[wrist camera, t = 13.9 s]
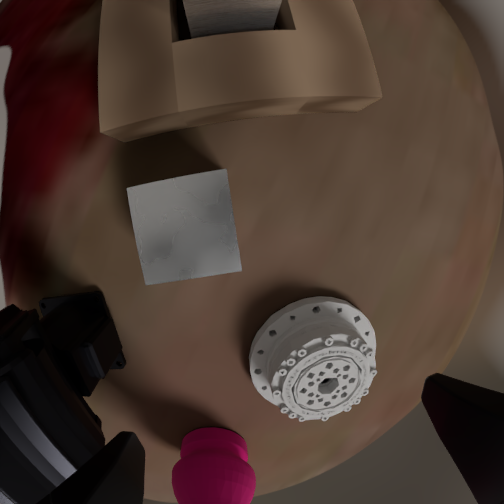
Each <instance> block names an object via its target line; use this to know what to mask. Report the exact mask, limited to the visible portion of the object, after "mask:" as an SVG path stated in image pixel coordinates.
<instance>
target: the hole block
mask: <svg viewBox="0 0 504 504" xmlns="http://www.w3.org/2000/svg"><path fill="white" fill-rule="evenodd" d="M276 24H277V29H278V30H266V31H250V32H238V33H228V34H220V35H213V36H206V37H200V38H194V39H188V40H183V41H179V28H178V15H177V0H103V1H102V10H101V20H100V33H99V53H98V101H99V122H100V133H103V134H105V135H107V136H110V137H112V138H115V139H117V140H119V141H122V142H124V143H125V142H129V141H133V140H137V139H141V138H145V137H149V136H153V135H157V134H162V133H166V132H171V131H176V130H180V129H186V128H191V127H196V126H202V125H208V124H214V123H220V122H227V121H234V120H241V119H249V118H258V117H267V116H278V115H291V114H307V113H334V112H357V111H359V110H361V109H363V108H365V107H366V106H368V105H370V104H372V103H374V102H376V101H377V100H379V99H381V98H383V96H382V92H381V88H380V84H379V80H378V76H377V72H376V68H375V65H374V61H373V58H372V54H371V51H370V48H369V44H368V41H367V38H366V35H365V32H364V29H363V26H362V23H361V21H360V18H359V15H358V13H357V10H356V7H355V5H354V2H353V0H282V2H281V5H280V8H279V12H278V15H277V18H276Z"/></svg>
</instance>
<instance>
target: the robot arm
mask: <svg viewBox="0 0 504 504" xmlns="http://www.w3.org/2000/svg"><path fill="white" fill-rule="evenodd" d="M96 296H97V297H98V298H99V301H98V300H97V299H96ZM44 304H45V305H46V306H45V305H44ZM39 306H40V309H41V312H42V315H43V318H42V319H40V320H39V319H38V318H39V315H38V313H37V310H36V309H33V310H30V311H27V310H25V311H22V310H20V309H19V308H18V307H16V306H15V305H14V304H11V305H9V306H7V307H5V308H4V309H2V310H1V311H0V504H143V496H144V473H145V450H144V447H143V446H142V444H141V442H140V441H139V439H138V437H137V436H136V434H135V433H134V432H126V431H122V432H120V433H119V434H118V435H116V436H115V437H114V438H113V439H112V440H111V441H110V442H109V443H108V444H106V445H105V437H104V435H103V432H102V430H101V423H102V422H101V420H100V418H99V417H98V416H97V415H95V414H94V412H93V411H92V410H91V408H90V407H89V405H88V404H87V403H86V401H85V400H84V398H83V396H88V397H89V396H90V395H91V394H92V392H93V390H94V389H95V387H96V385H97V384H98V382H99V380H100V379H104V378H105V376H106V374H107V373H108V371H109V369H123V368H124V367H125V365H126V360H125V357H124V355H123V352H122V345H121V342H120V339H119V337H118V334H117V331H116V328H115V325H114V322H113V319H112V318H111V317H110V315H109V311H108V308H107V305H106V302H105V298H104V296H103V294H102V293H101V292H99V291H94V292H87V293H79V294H72V295H64V296H57V297H49V298H43V299H42V300H40V302H39ZM118 361H120V362H121V363H122V364H120V363H119V362H118ZM421 399H422V402H423V405H424V407H425V409H426V410H427V413H428V415H429V417H430V419H431V421H432V423H433V425H434V427H435V430H436V432H437V434H438V436H439V437H440V439H441V441H442V442H443V444H444V446H445V447H446V449H447V450H448V452H449V454H450V455H451V457H452V459H453V461H454V462H455V464H456V466H457V467H458V469H459V471H460V472H461V474H462V476H463V478H464V479H465V481H466V483H467V485H468V486H469V488H470V490H471V492H472V493H473V495H474V497H475V499H476V501H477V502H478V504H504V393H500V392H497V391H494V390H490V389H487V388H483V387H480V386H477V385H474V384H470V383H467V382H464V381H461V380H458V379H455V378H452V377H449V376H446V375H443V374H440V373H435V374H433V375H430V376H428V377H427V378H426V379H425V383H424V387H423V391H422V395H421Z"/></svg>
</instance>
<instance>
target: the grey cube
mask: <svg viewBox="0 0 504 504" xmlns="http://www.w3.org/2000/svg"><path fill="white" fill-rule="evenodd" d="M127 194H128V200H129V206H130V212H131V218H132V223H133V229H134V234H135V239H136V244H137V249H138V253H139V258H140V262H141V267H142V271H143V275H144V279H145V284H146V285H151V284H158V283H165V282H172V281H179V280H185V279H192V278H199V277H205V276H212V275H218V274H225V273H231V272H237V271H242V267H241V261H240V255H239V248H238V242H237V235H236V229H235V222H234V216H233V209H232V203H231V196H230V190H229V183H228V176H227V170H226V169H221V170H215V171H209V172H203V173H197V174H192V175H186V176H181V177H176V178H171V179H166V180H161V181H156V182H151V183H147V184H142V185H138V186H134V187H129V188H127Z"/></svg>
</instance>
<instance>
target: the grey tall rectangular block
mask: <svg viewBox="0 0 504 504" xmlns="http://www.w3.org/2000/svg"><path fill="white" fill-rule="evenodd" d="M281 2H282V0H183V4H184V9H185V13H186V17H187V21H188V25H189V29H190V33H191V37H192V39H194V38H200V37H206V36H213V35H220V34H228V33H238V32H250V31H266V30H273V28H274V24H275V21H276V18H277V15H278V12H279V8H280V5H281Z"/></svg>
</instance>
